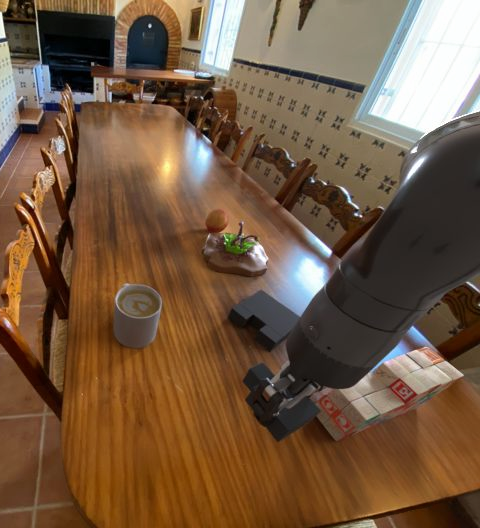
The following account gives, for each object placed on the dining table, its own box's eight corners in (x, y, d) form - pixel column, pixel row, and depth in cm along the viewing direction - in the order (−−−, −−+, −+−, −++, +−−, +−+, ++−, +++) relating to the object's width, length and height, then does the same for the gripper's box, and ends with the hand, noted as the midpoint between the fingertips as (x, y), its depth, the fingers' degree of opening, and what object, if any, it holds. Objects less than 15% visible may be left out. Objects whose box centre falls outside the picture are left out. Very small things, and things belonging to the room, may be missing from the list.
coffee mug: (160, 346, 65) (167, 316, 59) (115, 350, 64) (117, 320, 58) (148, 302, 76) (153, 272, 69) (110, 304, 74) (111, 274, 68)
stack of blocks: (336, 443, 52) (377, 411, 44) (309, 409, 57) (342, 374, 49) (417, 408, 58) (466, 375, 50) (387, 379, 63) (428, 345, 55)
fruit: (230, 234, 103) (237, 214, 98) (212, 239, 100) (218, 218, 95) (216, 223, 109) (221, 203, 104) (198, 227, 106) (203, 207, 101)
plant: (260, 243, 100) (272, 214, 93) (270, 281, 85) (286, 250, 78) (201, 233, 102) (208, 204, 95) (200, 269, 87) (209, 237, 80)
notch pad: (298, 328, 72) (304, 319, 70) (269, 352, 66) (275, 343, 64) (256, 298, 79) (261, 289, 77) (227, 317, 73) (231, 307, 71)
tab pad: (262, 370, 46) (271, 357, 43) (309, 422, 40) (321, 410, 38) (233, 385, 43) (240, 372, 41) (277, 442, 38) (288, 431, 36)
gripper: (328, 393, 25) (259, 462, 35) (420, 337, 30) (336, 412, 41) (262, 326, 30) (219, 405, 40) (350, 289, 35) (292, 367, 46)
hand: (278, 408), depth 40 cm, fingers closed on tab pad, 6 cm apart
